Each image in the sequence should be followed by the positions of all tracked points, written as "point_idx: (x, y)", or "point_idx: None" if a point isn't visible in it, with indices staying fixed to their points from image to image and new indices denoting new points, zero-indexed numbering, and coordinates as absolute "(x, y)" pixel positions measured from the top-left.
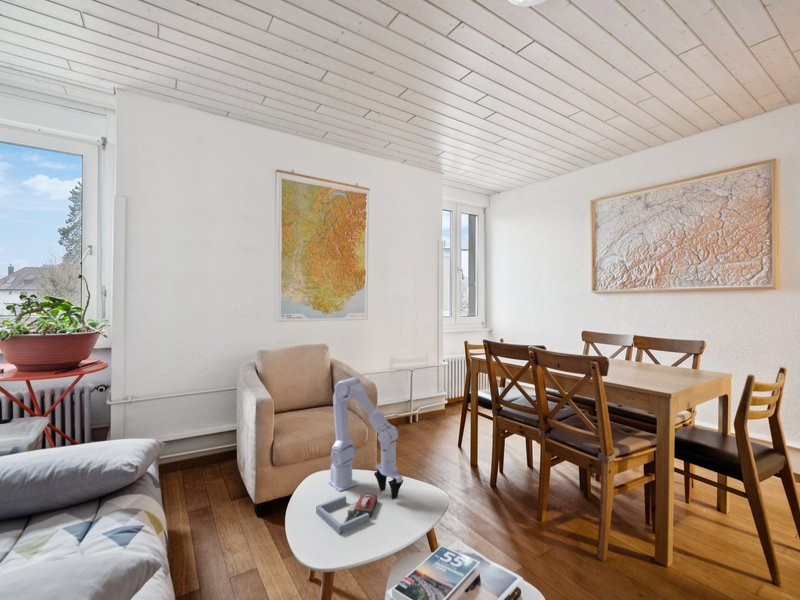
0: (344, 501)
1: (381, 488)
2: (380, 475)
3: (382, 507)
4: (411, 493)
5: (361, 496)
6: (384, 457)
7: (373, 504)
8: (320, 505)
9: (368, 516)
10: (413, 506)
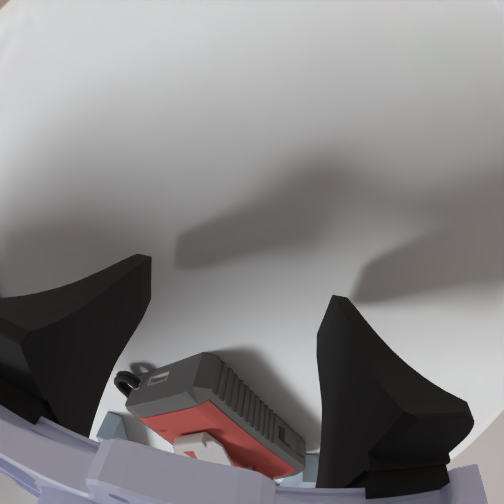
0: (118, 429)
1: (140, 310)
2: (78, 419)
3: (294, 378)
4: (365, 72)
5: (151, 427)
6: None
7: (271, 445)
8: None
9: (316, 476)
10: (478, 253)
